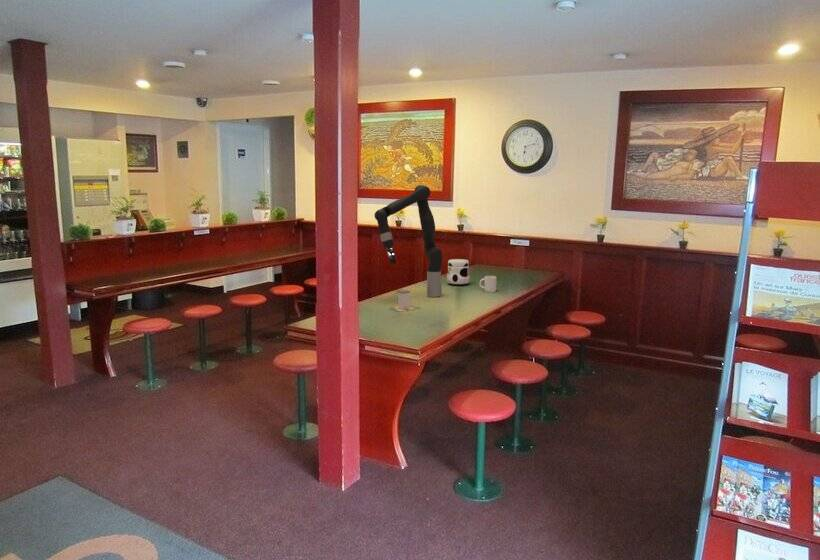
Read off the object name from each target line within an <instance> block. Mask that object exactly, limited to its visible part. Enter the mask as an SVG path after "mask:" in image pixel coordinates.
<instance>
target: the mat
mask: <svg viewBox="0 0 820 560" xmlns="http://www.w3.org/2000/svg"><path fill="white" fill-rule="evenodd" d="M417 308H418V309H420V307H418V306H415V305H412V304H409V308H408V309H400V308H398V305H397V306H392V307H388V308H387V309H388V310H391V309H392V311H394V310H395V312H397V313H402V311H403V312H408V311H413V310H417ZM412 309H413V310H412Z"/></svg>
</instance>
